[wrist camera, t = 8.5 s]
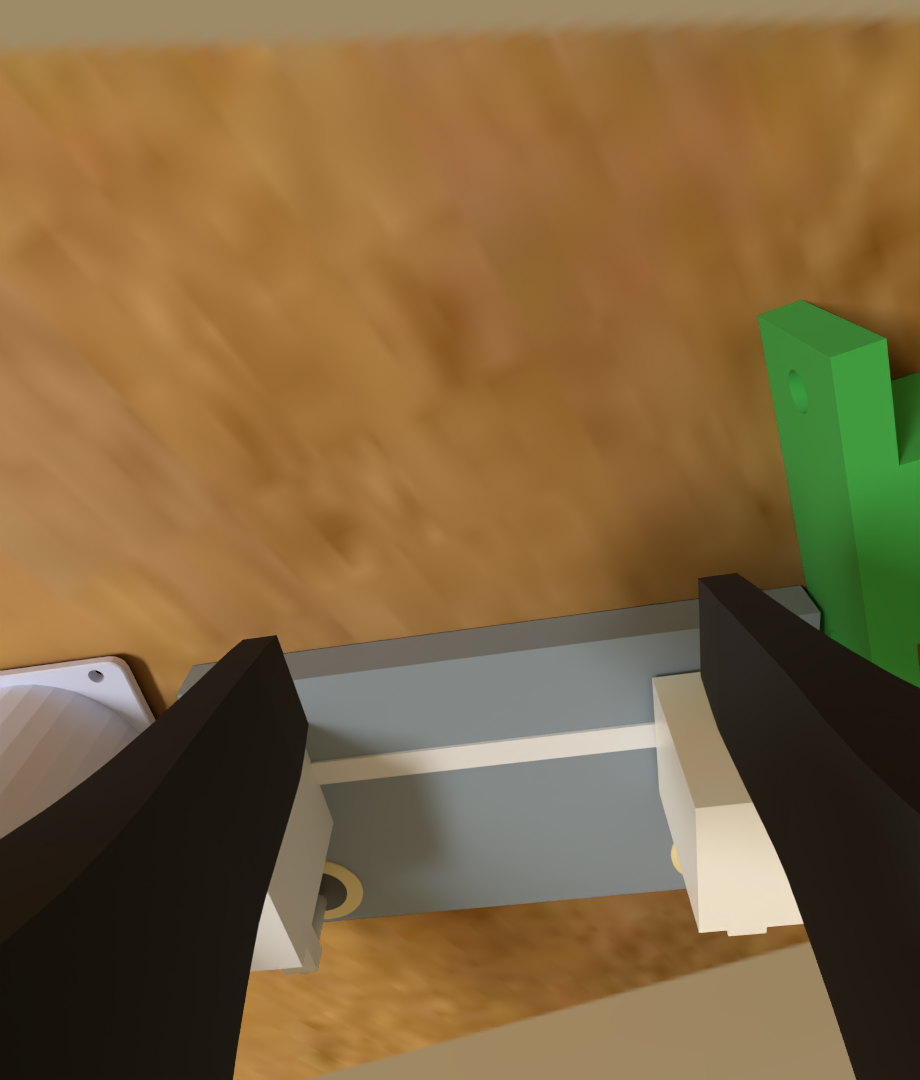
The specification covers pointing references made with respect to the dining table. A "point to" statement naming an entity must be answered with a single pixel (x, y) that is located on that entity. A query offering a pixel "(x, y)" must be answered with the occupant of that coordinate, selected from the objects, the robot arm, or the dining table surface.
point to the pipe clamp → (851, 479)
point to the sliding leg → (715, 818)
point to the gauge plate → (479, 771)
